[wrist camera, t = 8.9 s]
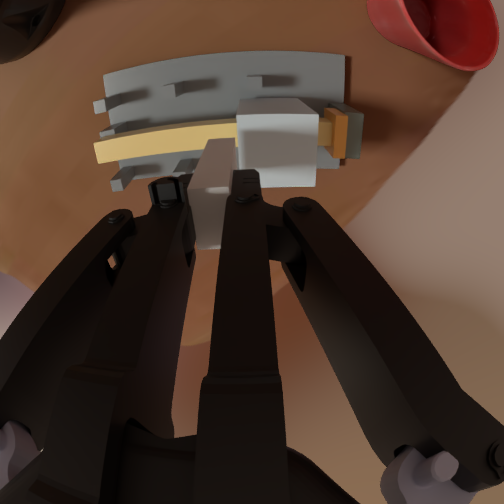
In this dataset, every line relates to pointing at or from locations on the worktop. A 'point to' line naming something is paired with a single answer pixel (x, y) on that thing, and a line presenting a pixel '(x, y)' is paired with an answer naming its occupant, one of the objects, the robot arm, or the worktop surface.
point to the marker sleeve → (278, 141)
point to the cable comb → (216, 108)
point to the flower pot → (440, 29)
